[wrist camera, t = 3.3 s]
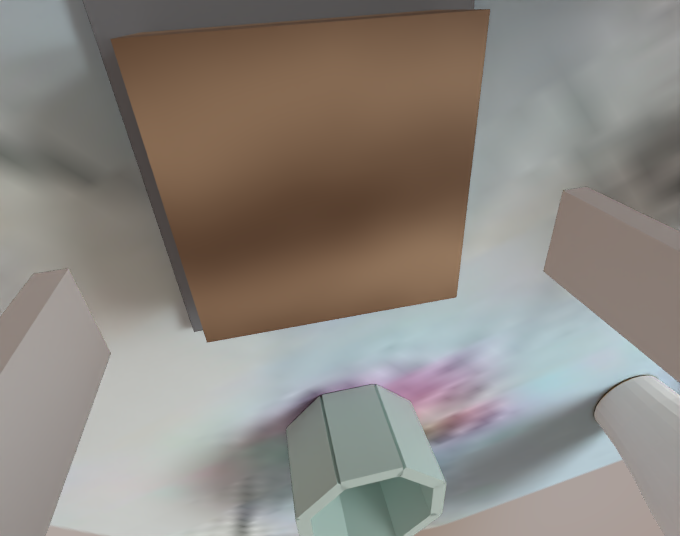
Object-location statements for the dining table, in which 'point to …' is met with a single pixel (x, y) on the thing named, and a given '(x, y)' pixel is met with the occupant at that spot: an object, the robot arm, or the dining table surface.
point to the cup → (647, 442)
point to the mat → (200, 12)
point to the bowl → (362, 466)
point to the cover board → (311, 160)
